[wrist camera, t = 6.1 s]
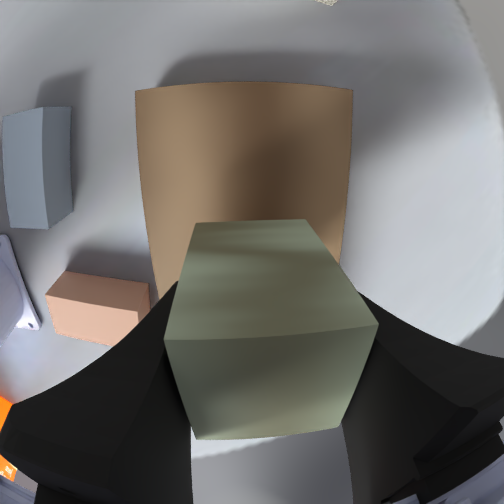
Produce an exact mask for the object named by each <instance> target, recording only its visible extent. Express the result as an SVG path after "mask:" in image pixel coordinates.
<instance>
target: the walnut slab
mask: <svg viewBox="0 0 504 504" xmlns="http://www.w3.org/2000/svg"><path fill="white" fill-rule="evenodd" d="M135 104H136V130H137V146H138V160H139V171H140V181H141V191H142V199H143V207H144V215H145V222H146V229H147V235H148V242H149V248H150V254H151V260H152V265H153V271H154V276H155V281H156V286H157V291H158V296H159V300H160V299H161V298H162V297H163V296H164V294H165V293H166V292H167V291H168V290H169V289H170V287H171V286H172V285H173V284H174V283H175V282H176V281H179V278H180V274H181V270H182V267H183V263H184V260H185V256H186V253H187V250H188V246H189V243H190V239H191V236H192V233H193V230H194V226H195V223H202V222H226V221H254V220H292V219H306V221H307V222H308V223H309V225H310V226H311V227H312V229H313V230H314V231H315V233H316V234H317V235H318V237H319V238H320V239H321V241H322V242H323V243H324V245H325V246H326V248H327V249H328V250H329V252H330V253H331V254H332V256H333V257H334V259H335V260H336V261H337V263H338V264H339V260H340V253H341V246H342V238H343V230H344V222H345V213H346V204H347V194H348V183H349V170H350V156H351V137H352V106H353V90H350V89H343V88H336V87H328V86H320V85H310V84H298V83H282V82H212V83H196V84H184V85H174V86H166V87H158V88H151V89H144V90H138V91H135Z"/></svg>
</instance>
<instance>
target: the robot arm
mask: <svg viewBox="0 0 504 504" xmlns="http://www.w3.org/2000/svg"><path fill="white" fill-rule="evenodd" d="M177 285H178V281H176V282H175V283H174V284H173V285H172V286H171V287H170V289H169V290H168V291H167V292H166V293H165V294H164V296H163V297H162V298H161V299H160V300H159V301H158V303H157V304H156V305H155V306H154V307H153V308H152V309H151V310H150V312H149V313H148V314H147V315H146V316H145V317H144V318H143V319H142V320H141V321H140V322H139V323H138V324H137V325H136V326H135V327H134V328H133V329H132V330H131V331H130V332H129V333H128V334H127V335H126V336H125V337H124V338H123V339H122V340H121V341H119V342H118V343H117V344H116V345H115V346H113V347H112V348H111V349H110V350H109V351H107V352H106V353H105V354H104V355H102V356H101V357H100V358H98V359H97V360H95V361H94V362H92V363H91V364H90V365H88V366H87V367H85V368H84V369H82V370H81V371H79V372H78V373H76V374H75V375H73V376H71V377H70V378H68V379H66V380H65V381H63V382H61V383H59V384H58V385H56V386H54V387H52V388H50V389H48V390H46V391H44V392H42V393H40V394H38V395H35V396H33V397H31V398H28V399H26V400H24V401H21V402H19V403H16V404H14V405H12V406H11V408H10V410H9V412H8V414H7V417H6V419H5V421H4V424H3V426H2V428H1V431H0V455H1V456H2V457H3V458H4V459H5V460H7V461H8V462H9V463H10V464H12V465H13V466H14V467H16V468H17V469H18V470H20V471H21V472H22V473H24V474H25V475H27V476H28V477H29V478H31V479H32V480H34V481H35V482H37V483H38V487H37V491H36V493H34V492H32V491H30V490H28V489H26V488H24V487H22V486H20V485H18V484H16V483H15V482H13V481H11V480H9V479H8V478H6V477H4V476H2V475H1V474H0V504H193V493H192V476H191V424H190V422H189V419H188V416H187V413H186V410H185V408H184V405H183V402H182V399H181V396H180V393H179V390H178V387H177V384H176V380H175V377H174V374H173V371H172V367H171V364H170V361H169V357H168V354H167V350H166V346H165V343H164V336H165V332H166V328H167V324H168V320H169V316H170V312H171V308H172V304H173V300H174V296H175V292H176V289H177ZM357 292H358V291H357ZM358 293H359V295H360V296H361V298H362V299H363V301H364V302H365V304H366V305H367V307H368V308H369V310H370V311H371V313H372V314H373V316H374V317H375V319H376V320H377V322H378V323H379V326H378V329H377V332H376V335H375V338H374V341H373V344H372V347H371V349H370V352H369V355H368V358H367V360H366V363H365V366H364V368H363V371H362V374H361V376H360V379H359V381H358V384H357V386H356V388H355V391H354V393H353V396H352V398H351V400H350V402H349V405H348V407H347V409H346V411H345V414H344V416H343V418H342V420H341V423H342V427H343V432H344V437H345V442H346V447H347V453H348V459H349V466H350V472H351V481H352V491H353V504H504V441H502V440H501V438H500V436H499V435H498V434H499V433H500V432H501V431H502V429H503V428H502V425H501V424H500V422H499V421H500V419H501V418H502V417H503V416H504V358H500V357H495V356H490V355H485V354H481V353H478V352H475V351H471V350H468V349H465V348H462V347H459V346H456V345H453V344H451V343H448V342H446V341H443V340H441V339H438V338H436V337H434V336H432V335H429V334H427V333H425V332H423V331H421V330H419V329H417V328H415V327H413V326H411V325H410V324H408V323H406V322H404V321H402V320H401V319H399V318H397V317H396V316H394V315H392V314H391V313H389V312H388V311H386V310H384V309H383V308H381V307H380V306H378V305H377V304H375V303H374V302H372V301H371V300H370V299H368V298H367V297H365V296H364V295H362V294H361V293H360V292H358ZM41 326H42V325H41V322H40V320H39V318H38V316H37V314H36V312H35V309H34V307H33V305H32V302H31V300H30V298H29V295H28V293H27V290H26V288H25V285H24V282H23V280H22V277H21V274H20V271H19V269H18V266H17V263H16V260H15V257H14V253H13V250H12V247H11V243H10V240H9V238H8V236H6V235H4V234H3V235H0V347H1V346H2V344H3V343H4V341H5V340H6V338H7V337H8V336H9V334H10V333H11V331H12V330H13V329H14V327H18V328H24V329H31V330H40V328H41Z"/></svg>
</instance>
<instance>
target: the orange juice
mask: <svg viewBox="0 0 504 504" xmlns="http://www.w3.org/2000/svg"><path fill="white" fill-rule="evenodd" d="M12 405H13V404H12V403H10V402H8V401H7V400H5V399H4V398H2V397H0V431H1V428H2V426H3V424H4V421H5V419H6V417H7V414H8V412H9V410H10V408H11V406H12ZM16 470H17V468H16V467H14V466H13V465H12V464H10V463H9V462H8V461H7V460H5V459H4V458H3V457H2V456H1V455H0V474H1V475H2V476H4V477H6V478H8V479H9V480H11V481H14V477H15V473H16Z"/></svg>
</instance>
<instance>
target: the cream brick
mask: <svg viewBox="0 0 504 504" xmlns="http://www.w3.org/2000/svg"><path fill="white" fill-rule="evenodd" d="M315 1H318V2H321V3H324V4H327V5H330V6H332V5H333V4H334V3H335V2H336V1H337V0H315Z"/></svg>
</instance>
